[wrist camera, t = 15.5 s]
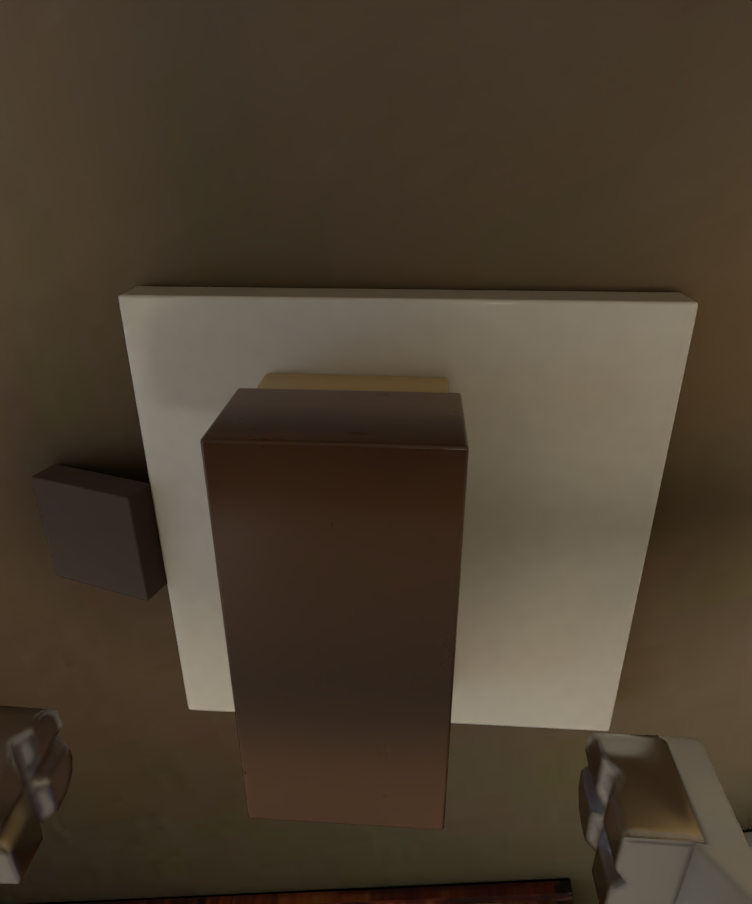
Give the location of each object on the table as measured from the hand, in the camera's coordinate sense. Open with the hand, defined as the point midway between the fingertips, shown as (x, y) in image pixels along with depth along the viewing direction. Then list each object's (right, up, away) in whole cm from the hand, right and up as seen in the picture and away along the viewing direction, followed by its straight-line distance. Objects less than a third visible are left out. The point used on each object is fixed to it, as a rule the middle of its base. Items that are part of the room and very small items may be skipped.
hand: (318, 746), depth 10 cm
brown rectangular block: (0, +2, +6) cm, 7 cm away
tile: (+1, +3, +7) cm, 8 cm away
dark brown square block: (-6, +3, +7) cm, 10 cm away
